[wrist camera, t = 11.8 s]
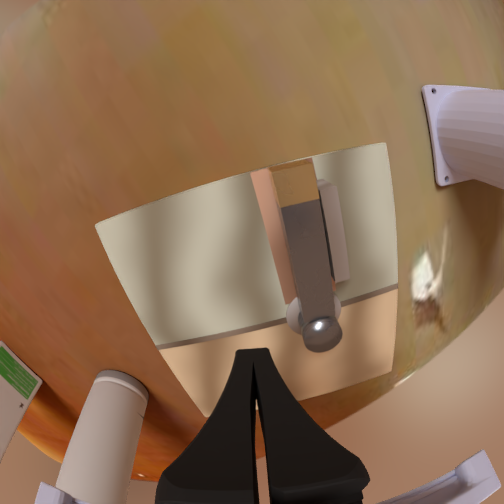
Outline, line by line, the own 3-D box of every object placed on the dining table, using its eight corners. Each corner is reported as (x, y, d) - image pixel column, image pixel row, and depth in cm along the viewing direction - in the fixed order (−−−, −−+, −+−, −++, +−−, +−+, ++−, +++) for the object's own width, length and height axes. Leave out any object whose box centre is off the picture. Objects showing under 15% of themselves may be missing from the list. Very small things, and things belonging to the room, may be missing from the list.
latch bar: (333, 324, 21) (343, 346, 19) (300, 334, 21) (306, 356, 19) (307, 158, 16) (319, 162, 14) (262, 168, 16) (267, 174, 14)
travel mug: (162, 397, 26) (137, 566, 8) (124, 407, 27) (91, 550, 9) (122, 361, 24) (67, 547, 5) (86, 375, 25) (32, 525, 6)
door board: (381, 142, 17) (407, 146, 14) (389, 367, 26) (401, 389, 23) (98, 222, 18) (75, 239, 15) (205, 413, 27) (204, 437, 24)
